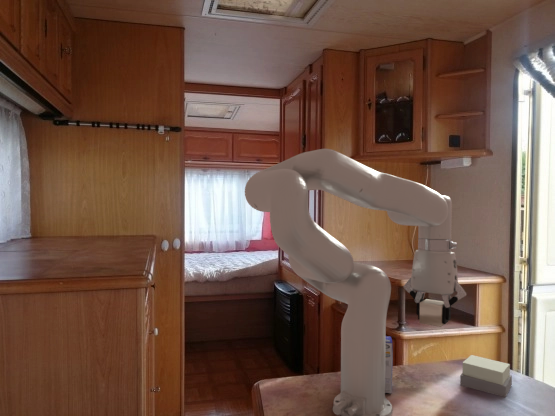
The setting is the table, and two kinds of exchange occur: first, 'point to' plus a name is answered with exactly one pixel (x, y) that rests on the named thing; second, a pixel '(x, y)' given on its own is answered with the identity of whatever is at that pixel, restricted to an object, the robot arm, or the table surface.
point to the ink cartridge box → (388, 365)
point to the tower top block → (486, 369)
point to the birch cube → (431, 312)
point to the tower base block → (486, 385)
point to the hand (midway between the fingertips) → (433, 319)
